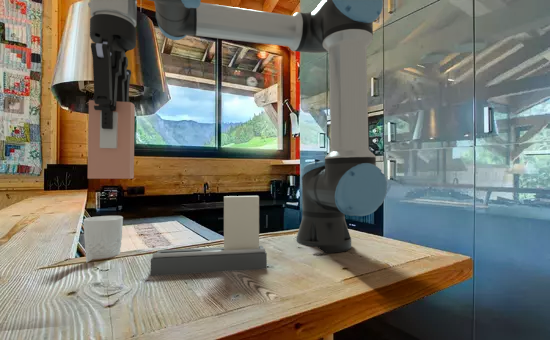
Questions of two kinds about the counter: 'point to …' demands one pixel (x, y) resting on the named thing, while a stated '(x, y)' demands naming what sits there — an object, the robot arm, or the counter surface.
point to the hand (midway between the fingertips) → (111, 148)
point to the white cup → (102, 236)
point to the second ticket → (241, 222)
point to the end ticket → (110, 159)
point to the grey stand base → (207, 260)
